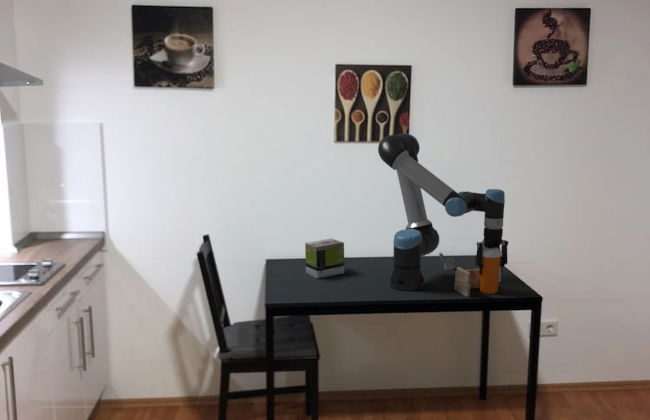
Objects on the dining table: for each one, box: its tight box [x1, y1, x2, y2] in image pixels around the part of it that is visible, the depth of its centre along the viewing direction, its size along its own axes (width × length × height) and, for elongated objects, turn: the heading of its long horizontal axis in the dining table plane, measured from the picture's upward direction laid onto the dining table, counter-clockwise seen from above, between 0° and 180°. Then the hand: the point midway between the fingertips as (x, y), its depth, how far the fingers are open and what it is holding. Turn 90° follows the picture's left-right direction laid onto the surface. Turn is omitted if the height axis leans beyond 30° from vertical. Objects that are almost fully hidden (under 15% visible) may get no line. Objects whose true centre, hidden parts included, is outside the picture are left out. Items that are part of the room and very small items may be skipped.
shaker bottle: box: [479, 245, 502, 295], centre depth 266 cm, size 9×9×20 cm
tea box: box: [304, 238, 345, 279], centre depth 290 cm, size 15×10×15 cm, turn 123°
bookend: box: [454, 266, 480, 298], centre depth 266 cm, size 14×10×10 cm
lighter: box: [438, 252, 455, 271], centre depth 299 cm, size 7×2×8 cm, turn 94°
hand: (490, 281), depth 267 cm, fingers open, 6 cm apart
